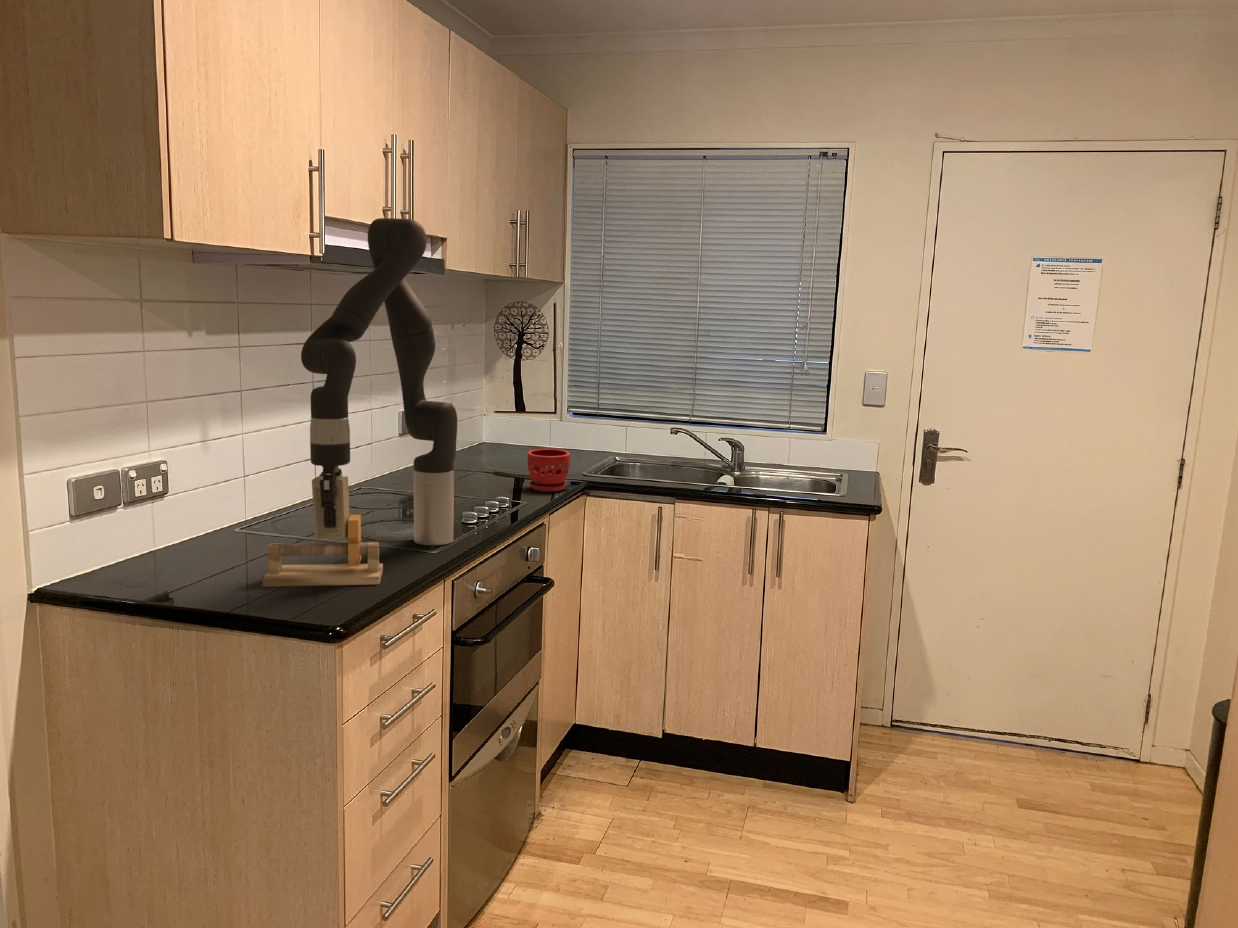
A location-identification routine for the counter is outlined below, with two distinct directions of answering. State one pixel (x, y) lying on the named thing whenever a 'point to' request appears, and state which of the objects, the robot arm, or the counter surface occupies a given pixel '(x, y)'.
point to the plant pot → (548, 469)
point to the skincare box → (341, 511)
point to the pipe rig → (322, 566)
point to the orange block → (354, 540)
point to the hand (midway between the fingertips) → (331, 523)
